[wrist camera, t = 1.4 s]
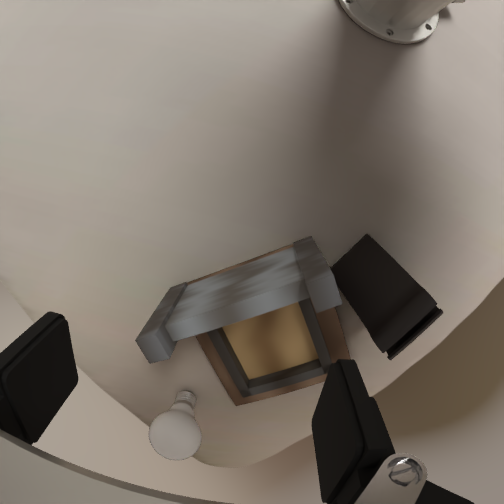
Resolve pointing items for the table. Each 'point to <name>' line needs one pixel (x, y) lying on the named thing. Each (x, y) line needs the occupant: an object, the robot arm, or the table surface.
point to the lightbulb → (177, 429)
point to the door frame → (257, 322)
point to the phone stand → (384, 296)
